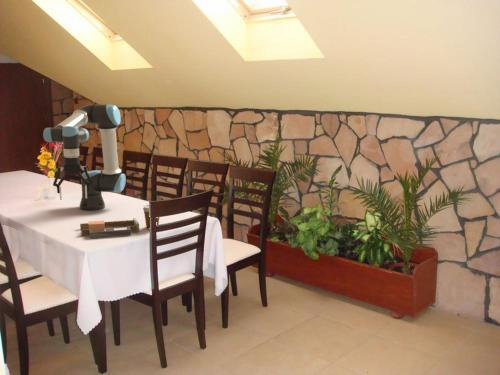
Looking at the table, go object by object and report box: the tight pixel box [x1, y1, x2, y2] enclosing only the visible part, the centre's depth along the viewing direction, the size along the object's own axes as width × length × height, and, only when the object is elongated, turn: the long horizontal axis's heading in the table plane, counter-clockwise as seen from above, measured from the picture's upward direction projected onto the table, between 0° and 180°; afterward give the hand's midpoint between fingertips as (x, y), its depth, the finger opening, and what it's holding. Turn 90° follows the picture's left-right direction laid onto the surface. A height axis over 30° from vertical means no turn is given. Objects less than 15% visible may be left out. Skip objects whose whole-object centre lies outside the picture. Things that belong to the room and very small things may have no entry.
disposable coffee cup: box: [142, 204, 160, 230], centre depth 282 cm, size 10×10×12 cm
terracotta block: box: [88, 220, 106, 232], centre depth 274 cm, size 6×8×5 cm
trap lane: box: [79, 217, 140, 239], centre depth 274 cm, size 19×29×4 cm, turn 110°
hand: (73, 198), depth 268 cm, fingers open, 12 cm apart
